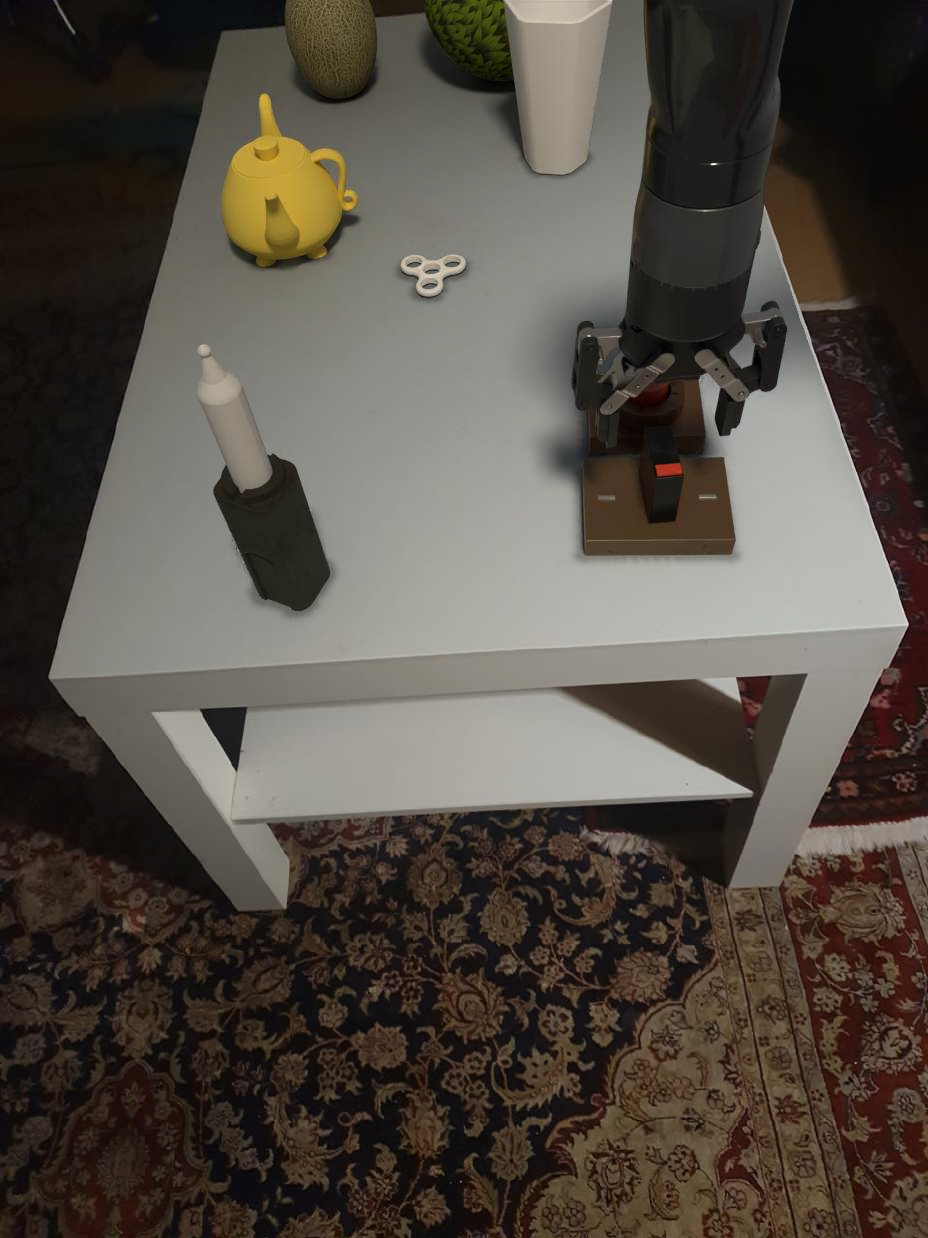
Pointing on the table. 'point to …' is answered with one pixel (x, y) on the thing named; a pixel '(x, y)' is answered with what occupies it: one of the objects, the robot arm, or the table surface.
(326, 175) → the teapot
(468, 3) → the decorative ball
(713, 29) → the robot arm
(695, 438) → the block
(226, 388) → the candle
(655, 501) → the thumbturn
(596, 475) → the plate
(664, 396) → the button
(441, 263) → the fidget spinner
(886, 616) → the table surface
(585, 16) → the cup
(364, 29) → the fruit
